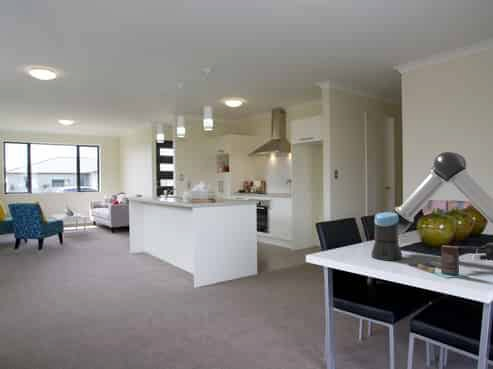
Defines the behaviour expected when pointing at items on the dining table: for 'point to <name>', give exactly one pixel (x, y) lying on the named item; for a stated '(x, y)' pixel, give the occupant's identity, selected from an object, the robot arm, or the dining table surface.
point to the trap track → (427, 266)
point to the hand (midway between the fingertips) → (458, 254)
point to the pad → (449, 275)
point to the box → (450, 260)
